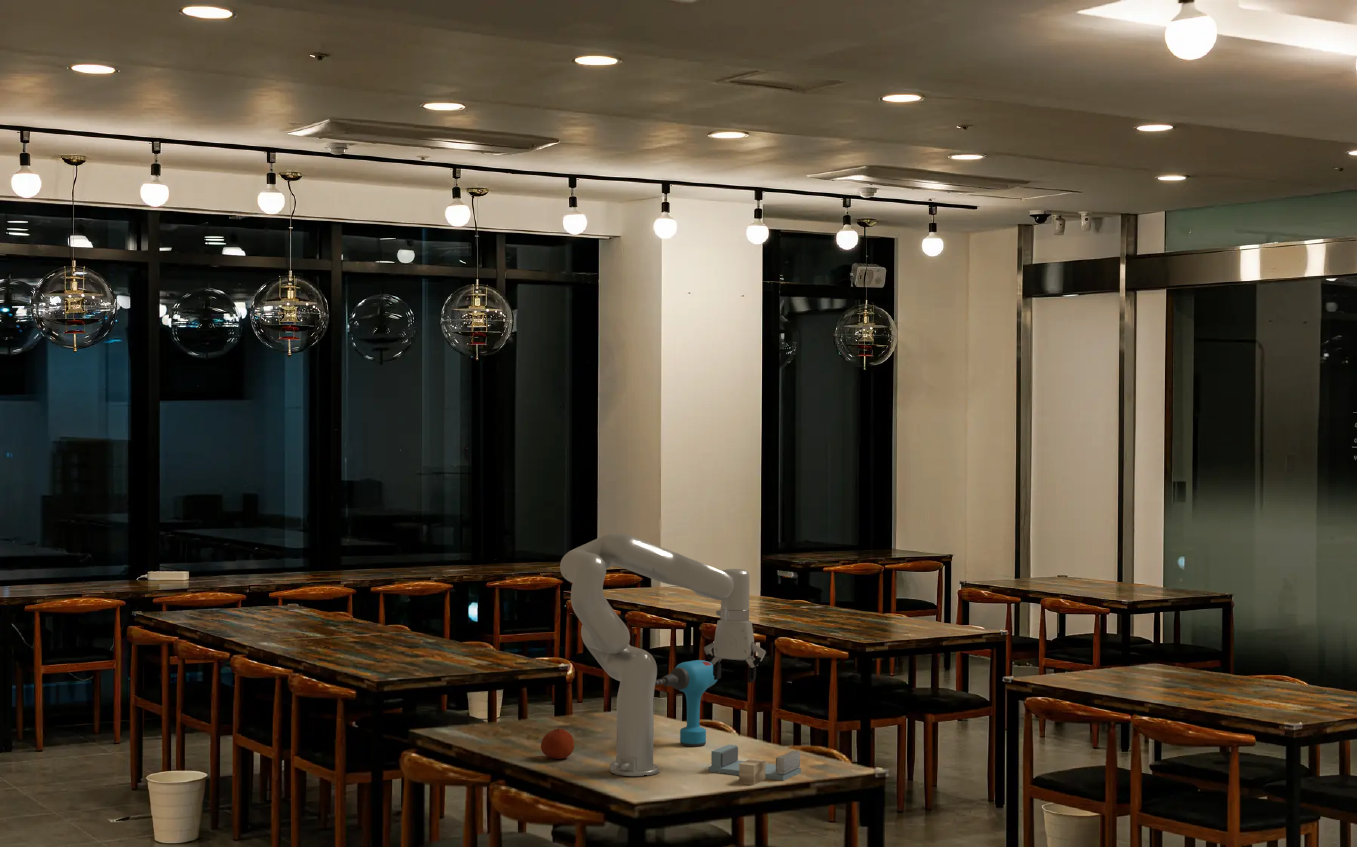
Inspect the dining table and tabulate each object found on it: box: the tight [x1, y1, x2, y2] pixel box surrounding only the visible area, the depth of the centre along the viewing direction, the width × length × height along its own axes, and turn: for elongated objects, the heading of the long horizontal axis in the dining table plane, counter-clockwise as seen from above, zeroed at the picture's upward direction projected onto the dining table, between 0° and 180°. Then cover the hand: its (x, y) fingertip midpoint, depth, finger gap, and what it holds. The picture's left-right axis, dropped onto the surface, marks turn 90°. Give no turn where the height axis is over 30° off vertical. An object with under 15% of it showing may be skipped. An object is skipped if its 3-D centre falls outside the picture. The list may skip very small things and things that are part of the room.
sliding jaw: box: [775, 750, 801, 774], centre depth 405 cm, size 10×2×4 cm, turn 152°
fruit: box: [540, 728, 575, 760], centre depth 424 cm, size 9×9×8 cm
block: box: [738, 758, 767, 786], centre depth 398 cm, size 7×4×5 cm, turn 152°
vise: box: [708, 744, 802, 782], centre depth 409 cm, size 11×21×5 cm, turn 62°
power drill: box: [655, 659, 719, 747], centre depth 440 cm, size 28×9×23 cm, turn 139°
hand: (734, 680), depth 421 cm, fingers open, 9 cm apart
